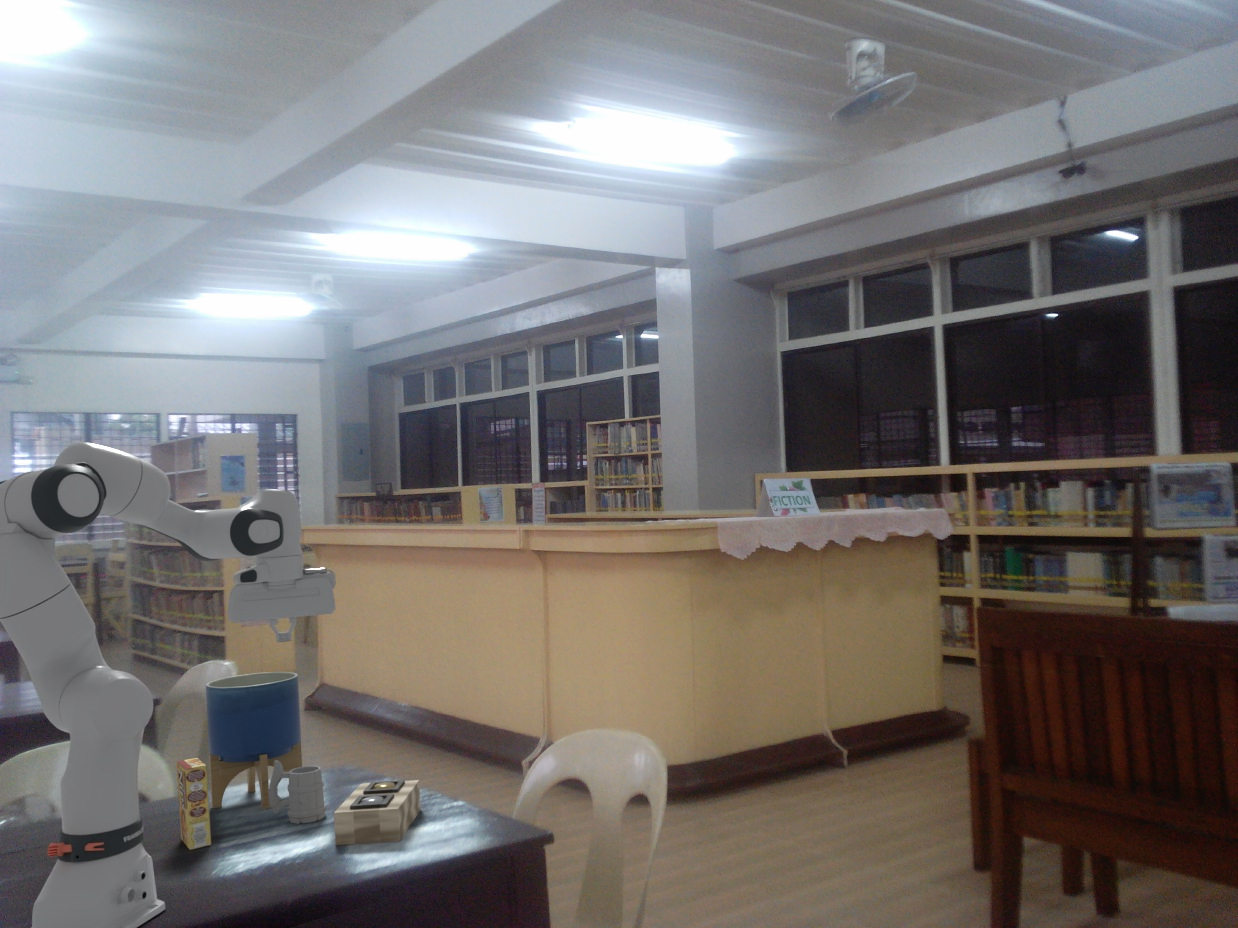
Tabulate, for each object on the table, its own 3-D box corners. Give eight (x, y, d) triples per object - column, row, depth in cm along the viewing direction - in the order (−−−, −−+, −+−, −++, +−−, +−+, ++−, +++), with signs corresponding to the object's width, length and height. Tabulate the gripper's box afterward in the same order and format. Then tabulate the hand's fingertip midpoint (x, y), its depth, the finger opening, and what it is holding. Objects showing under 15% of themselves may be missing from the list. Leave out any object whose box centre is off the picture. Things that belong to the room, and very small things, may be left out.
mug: (318, 823, 209) (315, 762, 209) (261, 825, 210) (258, 765, 210) (332, 811, 217) (329, 753, 217) (277, 813, 218) (274, 755, 218)
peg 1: (382, 836, 197) (380, 801, 198) (361, 837, 197) (359, 802, 198) (387, 829, 201) (385, 795, 202) (366, 830, 201) (364, 796, 202)
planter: (218, 818, 217) (212, 690, 218) (206, 797, 234) (200, 679, 235) (312, 800, 227) (306, 678, 228) (294, 782, 243) (288, 668, 244)
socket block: (399, 841, 194) (397, 805, 194) (335, 844, 194) (333, 809, 195) (420, 809, 214) (419, 776, 214) (362, 812, 214) (360, 780, 215)
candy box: (212, 845, 199) (208, 764, 199) (188, 850, 196) (184, 768, 197) (202, 834, 206) (198, 756, 207) (179, 839, 204) (175, 760, 204)
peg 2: (393, 819, 207) (392, 786, 208) (373, 821, 207) (371, 788, 208) (398, 813, 211) (396, 781, 212) (378, 815, 211) (376, 782, 212)
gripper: (333, 566, 212) (337, 634, 212) (226, 574, 206) (230, 644, 205) (335, 567, 206) (339, 637, 206) (225, 576, 200) (228, 648, 199)
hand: (284, 641), depth 206 cm, fingers closed
